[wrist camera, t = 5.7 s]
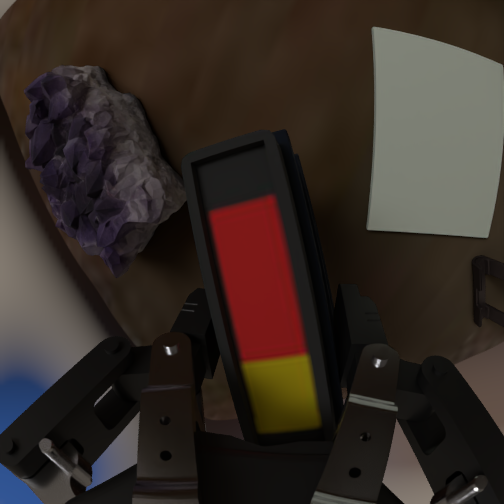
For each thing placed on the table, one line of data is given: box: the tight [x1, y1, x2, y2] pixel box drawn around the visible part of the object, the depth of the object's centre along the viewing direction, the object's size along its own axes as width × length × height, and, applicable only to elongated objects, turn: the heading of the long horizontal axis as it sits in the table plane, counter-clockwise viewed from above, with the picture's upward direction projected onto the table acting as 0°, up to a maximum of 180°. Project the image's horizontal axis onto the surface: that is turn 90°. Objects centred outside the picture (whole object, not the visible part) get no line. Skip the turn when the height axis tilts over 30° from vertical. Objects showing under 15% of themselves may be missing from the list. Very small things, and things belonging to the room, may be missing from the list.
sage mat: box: [366, 27, 504, 238], centre depth 20 cm, size 18×14×1 cm
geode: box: [24, 65, 187, 278], centre depth 21 cm, size 20×12×10 cm, turn 29°
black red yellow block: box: [181, 129, 344, 446], centre depth 16 cm, size 4×13×15 cm, turn 17°
